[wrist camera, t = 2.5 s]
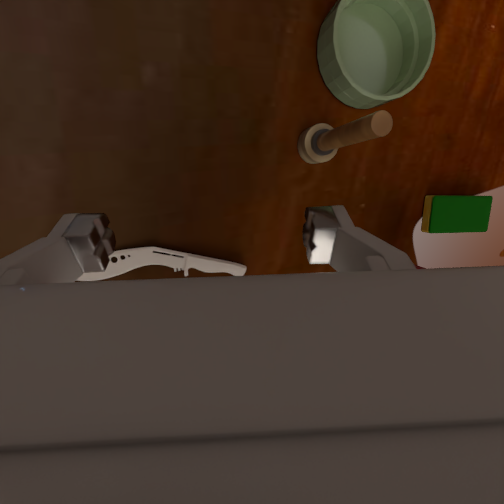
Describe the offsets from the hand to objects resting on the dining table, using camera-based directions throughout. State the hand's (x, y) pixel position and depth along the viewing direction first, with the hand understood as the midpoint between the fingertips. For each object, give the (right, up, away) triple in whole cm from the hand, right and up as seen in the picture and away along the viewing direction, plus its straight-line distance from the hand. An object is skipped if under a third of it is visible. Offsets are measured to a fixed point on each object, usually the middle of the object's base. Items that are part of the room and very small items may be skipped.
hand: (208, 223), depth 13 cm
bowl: (+21, +32, +38) cm, 54 cm away
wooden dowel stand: (+12, +17, +40) cm, 45 cm away
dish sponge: (+42, +7, +49) cm, 65 cm away
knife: (-14, -4, +38) cm, 41 cm away
